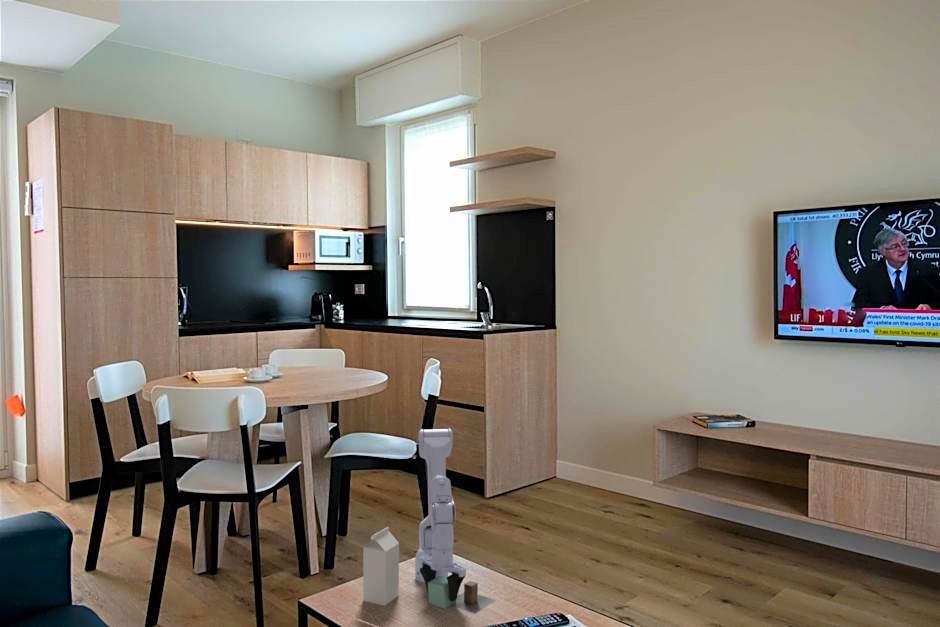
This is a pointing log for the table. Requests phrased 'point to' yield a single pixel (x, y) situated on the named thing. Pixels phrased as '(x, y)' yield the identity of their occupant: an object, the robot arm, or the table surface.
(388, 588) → the milk carton
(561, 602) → the table surface
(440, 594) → the mint green cube
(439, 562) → the robot arm
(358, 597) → the table surface
